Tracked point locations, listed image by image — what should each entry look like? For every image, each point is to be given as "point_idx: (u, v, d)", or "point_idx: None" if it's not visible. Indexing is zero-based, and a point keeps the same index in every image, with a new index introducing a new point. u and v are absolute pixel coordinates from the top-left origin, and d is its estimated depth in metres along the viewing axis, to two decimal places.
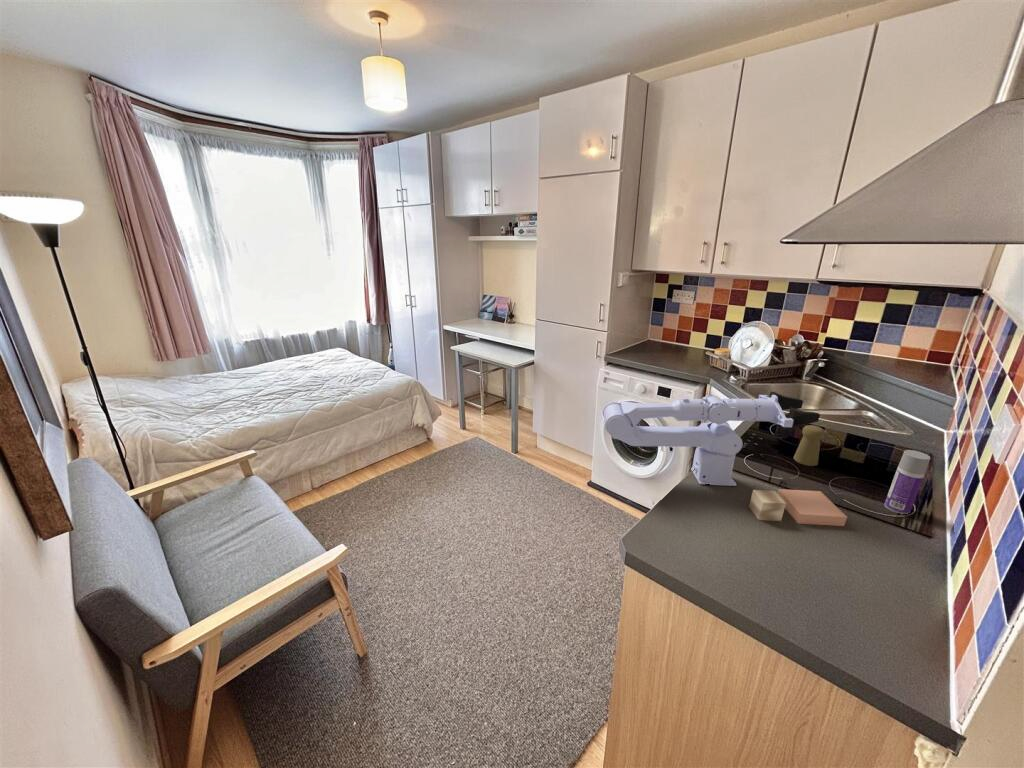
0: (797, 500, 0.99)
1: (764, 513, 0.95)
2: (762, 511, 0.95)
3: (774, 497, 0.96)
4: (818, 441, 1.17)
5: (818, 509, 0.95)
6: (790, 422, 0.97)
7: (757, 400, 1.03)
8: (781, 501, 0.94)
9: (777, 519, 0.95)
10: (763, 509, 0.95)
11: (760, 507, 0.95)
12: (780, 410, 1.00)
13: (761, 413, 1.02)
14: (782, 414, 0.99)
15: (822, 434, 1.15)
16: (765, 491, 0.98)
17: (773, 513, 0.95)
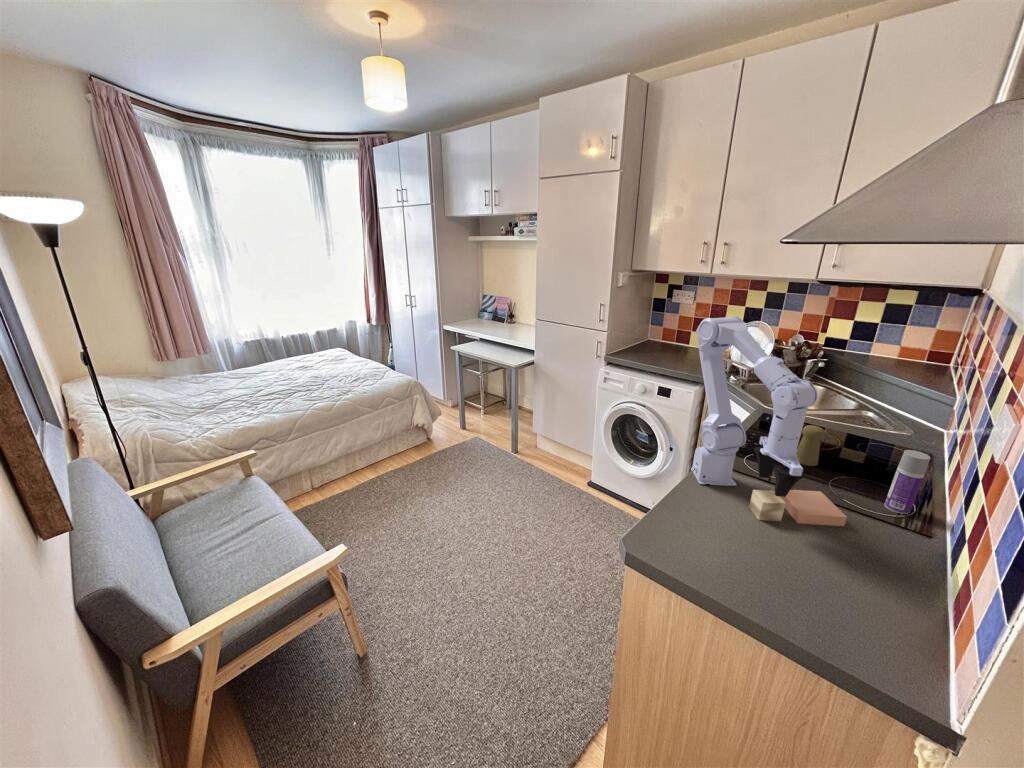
0: (797, 500, 0.99)
1: (764, 513, 0.95)
2: (762, 511, 0.95)
3: (774, 497, 0.96)
4: (818, 441, 1.17)
5: (818, 509, 0.95)
6: None
7: (770, 435, 0.91)
8: (781, 501, 0.94)
9: (777, 519, 0.95)
10: (763, 509, 0.95)
11: (760, 507, 0.95)
12: (763, 443, 0.96)
13: None
14: (762, 441, 0.97)
15: (822, 434, 1.15)
16: (765, 491, 0.98)
17: (773, 513, 0.95)
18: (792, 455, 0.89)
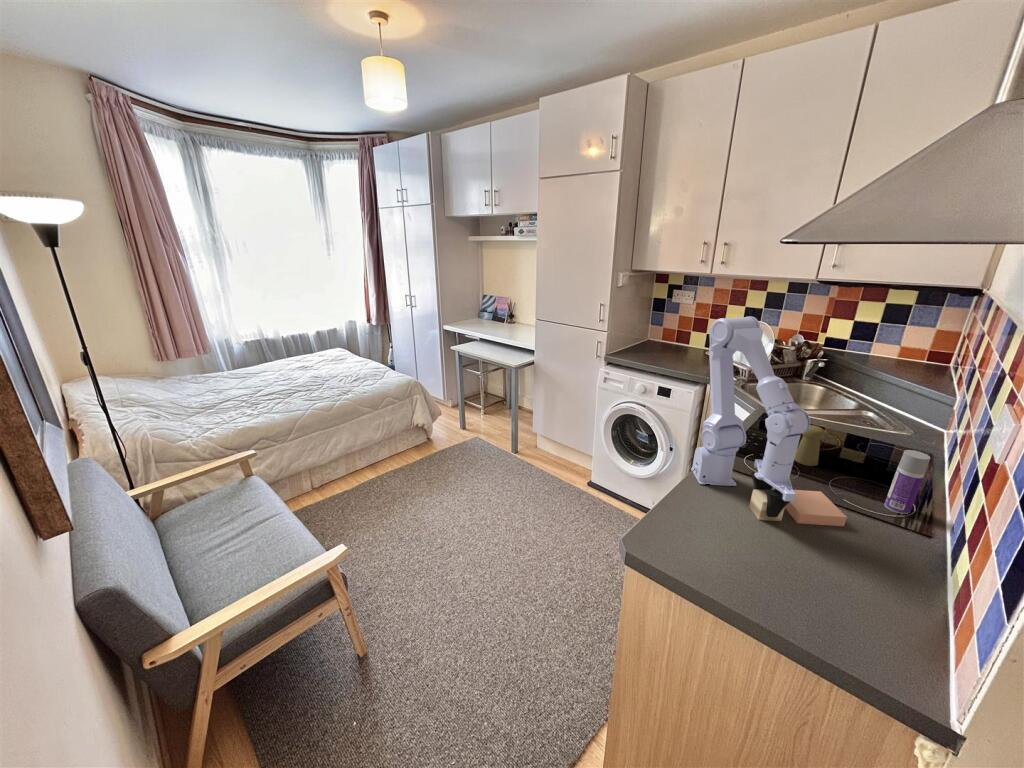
0: (797, 499, 0.99)
1: (764, 513, 0.95)
2: (762, 510, 0.95)
3: None
4: (818, 441, 1.17)
5: (818, 509, 0.95)
6: None
7: (764, 460, 0.94)
8: None
9: (777, 519, 0.95)
10: (764, 509, 0.95)
11: (760, 506, 0.95)
12: (757, 467, 0.98)
13: None
14: (757, 464, 0.99)
15: (822, 434, 1.15)
16: None
17: None
18: (786, 480, 0.92)
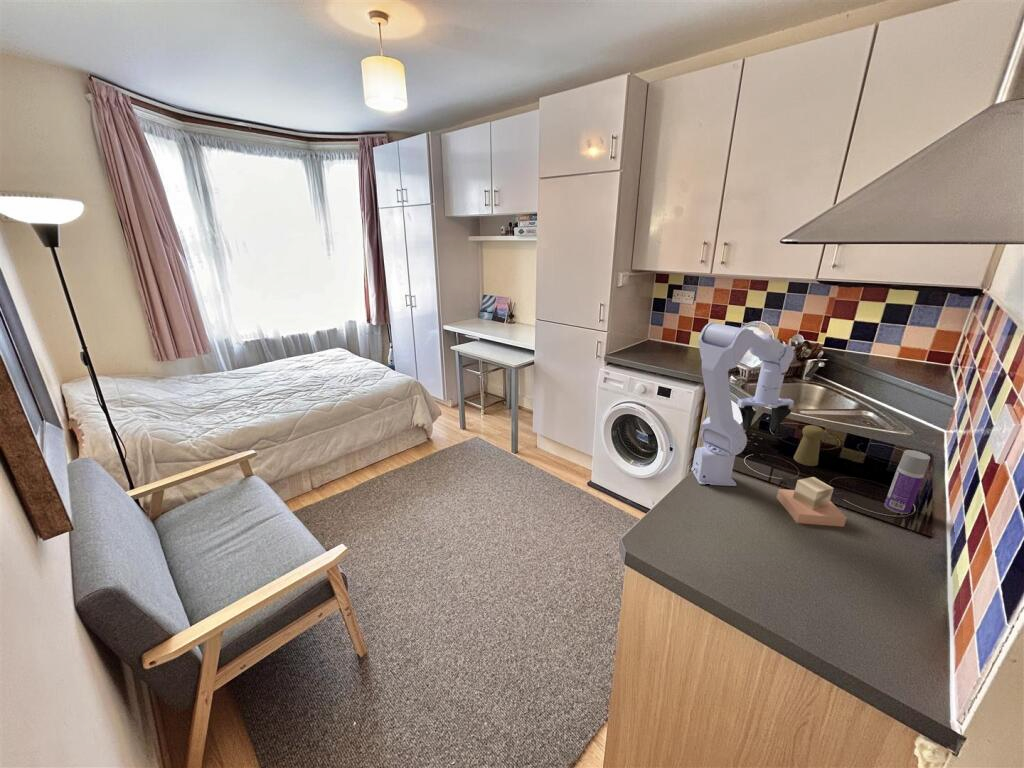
0: None
1: (817, 502, 0.95)
2: (816, 500, 0.94)
3: (820, 484, 0.96)
4: (818, 441, 1.17)
5: (817, 510, 0.95)
6: (739, 404, 1.14)
7: (774, 391, 1.10)
8: (828, 486, 0.95)
9: (825, 505, 0.96)
10: (817, 498, 0.94)
11: (813, 497, 0.95)
12: (755, 403, 1.12)
13: (759, 389, 1.12)
14: (750, 403, 1.13)
15: (822, 434, 1.15)
16: (807, 479, 0.98)
17: (823, 500, 0.95)
18: None
